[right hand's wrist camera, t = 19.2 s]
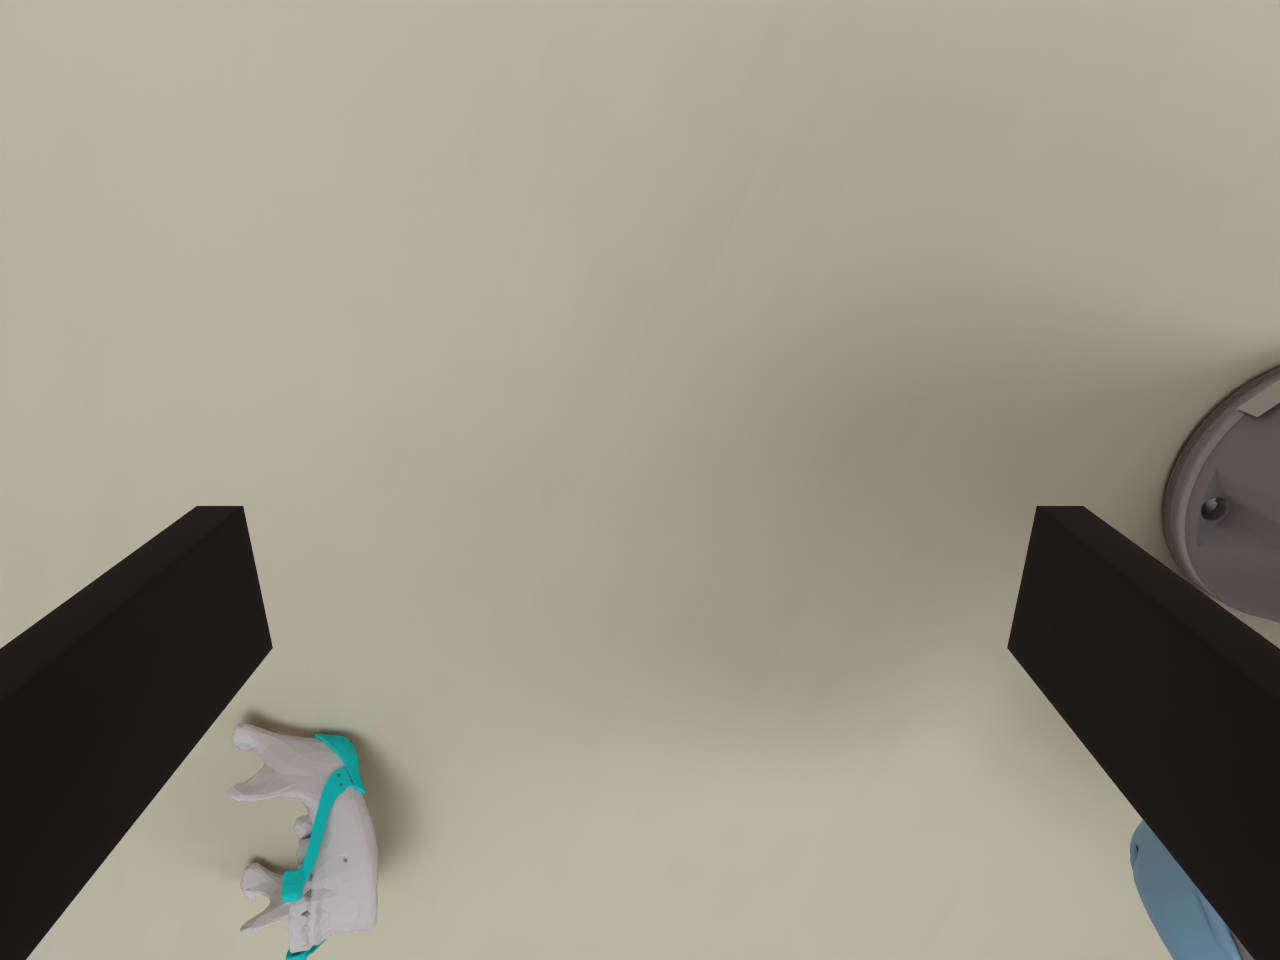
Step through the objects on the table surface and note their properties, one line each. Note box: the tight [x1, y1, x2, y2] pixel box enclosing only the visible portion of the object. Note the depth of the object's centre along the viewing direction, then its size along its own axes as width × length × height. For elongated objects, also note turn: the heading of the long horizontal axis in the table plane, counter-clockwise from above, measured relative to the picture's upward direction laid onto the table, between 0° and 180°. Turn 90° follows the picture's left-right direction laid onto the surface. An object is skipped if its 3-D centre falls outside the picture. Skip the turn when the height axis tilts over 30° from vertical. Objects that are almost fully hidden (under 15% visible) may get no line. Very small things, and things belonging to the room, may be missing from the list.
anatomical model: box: [229, 724, 379, 960], centre depth 48 cm, size 15×10×10 cm
